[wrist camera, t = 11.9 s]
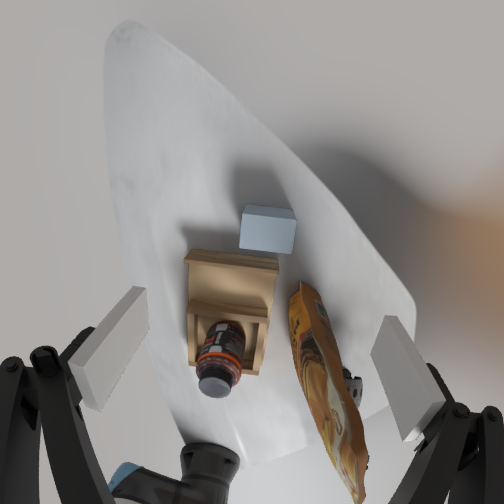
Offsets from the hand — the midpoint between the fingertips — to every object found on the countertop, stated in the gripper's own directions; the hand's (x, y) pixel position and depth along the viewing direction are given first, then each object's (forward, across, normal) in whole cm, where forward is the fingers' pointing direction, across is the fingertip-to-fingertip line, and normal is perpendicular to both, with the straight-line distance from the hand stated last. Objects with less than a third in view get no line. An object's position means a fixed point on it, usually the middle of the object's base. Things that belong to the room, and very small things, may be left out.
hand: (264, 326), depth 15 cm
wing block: (+24, 0, 0) cm, 24 cm away
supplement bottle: (+23, +4, +18) cm, 29 cm away
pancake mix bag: (+24, -9, +16) cm, 30 cm away
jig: (+24, +4, +14) cm, 28 cm away
